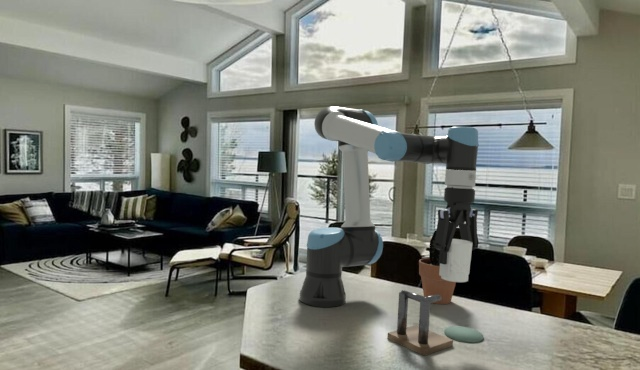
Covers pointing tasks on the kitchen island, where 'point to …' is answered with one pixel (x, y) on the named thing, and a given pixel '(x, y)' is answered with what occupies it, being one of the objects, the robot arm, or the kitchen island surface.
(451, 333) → the end coaster
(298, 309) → the kitchen island surface
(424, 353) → the brown wooden board
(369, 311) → the kitchen island surface
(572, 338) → the kitchen island surface
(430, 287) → the potted plant
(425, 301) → the bent wire
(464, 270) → the white cup
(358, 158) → the robot arm
